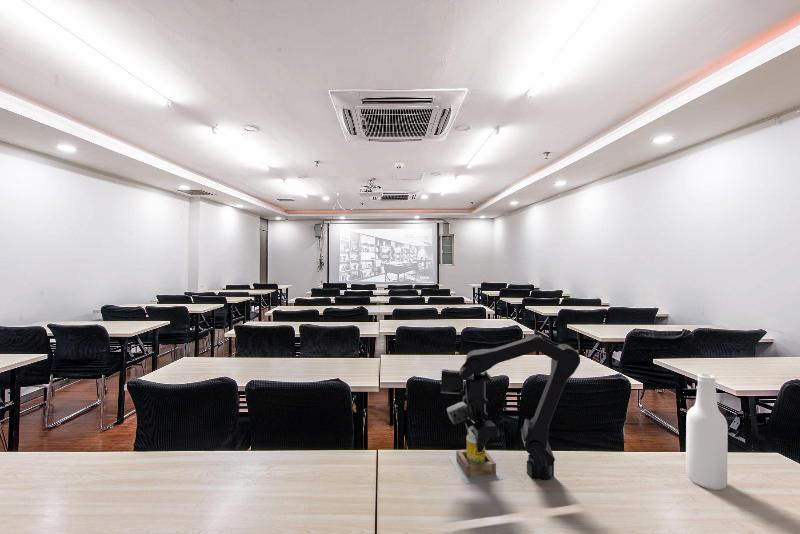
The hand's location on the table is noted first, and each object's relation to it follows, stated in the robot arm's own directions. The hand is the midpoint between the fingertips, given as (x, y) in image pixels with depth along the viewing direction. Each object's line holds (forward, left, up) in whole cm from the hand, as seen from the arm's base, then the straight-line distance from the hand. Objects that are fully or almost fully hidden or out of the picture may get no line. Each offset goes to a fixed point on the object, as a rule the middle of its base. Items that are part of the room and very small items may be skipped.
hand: (475, 446), depth 105 cm
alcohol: (-62, +17, -7) cm, 65 cm away
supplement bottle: (0, 0, -4) cm, 4 cm away
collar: (0, 0, -6) cm, 6 cm away
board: (0, 0, -7) cm, 7 cm away
